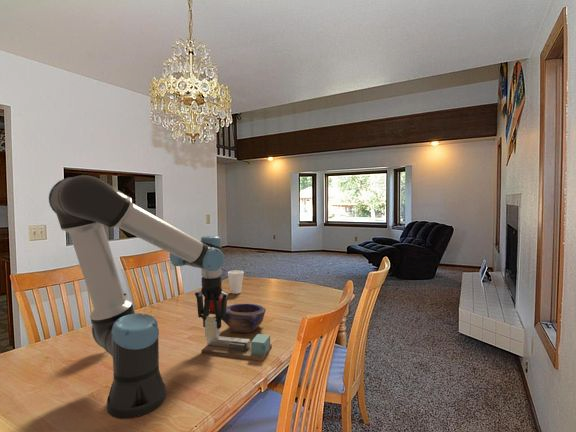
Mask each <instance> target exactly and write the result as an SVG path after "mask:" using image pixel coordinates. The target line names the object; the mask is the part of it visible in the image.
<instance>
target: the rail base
mask: <svg viewBox="0 0 576 432" xmlns="http://www.w3.org/2000/svg"><path fill="white" fill-rule="evenodd" d="M234 338H239V339H248V340H250V347H249V348H248V350H246V349H245V344H241V343H232V342H230V343H229V347H221V346H213V345H207V344H206V346H204V348H202V349H201V354H204V355H211V356H221V357H229V358H237V359H245V360H251V361H252V360H253V361H261V362H263V361H264V360H265V358H266V356H267V355H268V354H269V352H270V351H271V349H272V348H273V347H272V343H270V348H269V349H268V350H267V352H266V353H265V355H260V354H251V338H245V337H237V336H235V337H234Z"/></svg>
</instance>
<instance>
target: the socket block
mask: <svg viewBox="0 0 576 432" xmlns="http://www.w3.org/2000/svg"><path fill="white" fill-rule="evenodd" d="M250 342H251V354H260V355H265V353H266V352H267V350H268V349H269V348H270V344H271V335H270V334H262V333H257V334H256V335H255V336H254V337H253V339H252V340H250Z"/></svg>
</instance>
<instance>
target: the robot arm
mask: <svg viewBox="0 0 576 432" xmlns="http://www.w3.org/2000/svg"><path fill="white" fill-rule="evenodd" d="M48 193H49V194H48V203H49V206H50V208H51V210H52V211H53V212H54V213H55V215H56V216H57V221H58V223H59V226H60V229H61V231H64V232H66V233H68V234H69V235H70V239H71V242H72V245H73V248H74V252H75V255H76V257H77V261H78V264H79V267H80V270H81V274H82V276H83V279H84V283H85V285H86V288H87V292H88V295H89V298H90V301H91V304H92V307H93V310H92V312H91V313H90V315H89V319H90V321H91V335H92V337H93V339H94V341H95V343H96V344H97V345H98V346H100V347H101V348H103V349H104V350H105V351H106V352H107V353H108V354H109V355H110V357H112V365H113V366H112V367H113V368H112V369H113V371H112V374H113V380H112V383H111V387H110V390H109V393H108V396H107V398H106V412H107V414H108V415H109V416H111V417H113V418H117V419H131V418H136V417H140V416H144V415H146V414H148V413H150V412H152V411H154V410H156V409H157V408H158V407H160V406H161V405H162V404H163V403H164V401H165V399H166V398H167V397H166V396H167V388H166V384H165V382H164V380H163V378H162V374H161V372H160V369H159V368H160V363H159V361H160V357H159V355H160V354H159V353H160V351H159V350H160V349H159V347H160V346H159V335H160V329H159V323H158V320H157V319H156V318H155V317H154V316H153V315H150V314H147V313H136V312H135V309H134V305H133V302H132V300H130V299H129V298H128V299H126V298H125V297H124V291H123V290H124V289H123V287H122V283H121V280H120V277H119V274H118V270H117V267H116V263H115V260H114V256H113V253H112V250H111V246H110V243H109V239H108V236H107V233H106V230H105V227H104V226H106V227H107V228H110V229H114V228H118V229H121V230H122V231H125V232H126V233H128V234H131V235H133V236H135V237H137V238H139V239H141V240H142V241H145V242H147V243H149V244H151V245H153V246H155V247H157V248H159V249H161V250H164V251H166V252H168V253H169V260H170V262H171V264H172V265H173V266H174V267H184V266H189V267H193V268H199V269H200V270H201V272H200V273H201V290H198V291H196V292H195V293H194V295H195V298H196V306H197V317H198V318H199V319H200V318H201V319H202V326H203V328H204V337H205V338H207V316H208V315H209V313H210V310H209V308H210V301H211V300H212V301H213V304H214V309H215V313H214V314H215V316H216V320H215V321H214V338H217V337H218V336H220V329H221V328H222V321H223V319H224V318H225V317H226V309H227V307H228V298H229V296H230V294H229V292H225V291H223V289H222V286H223V285H222V284H223V283H222V282H223V281H222V267H223V265H224V263H225V255H224V253H223V251H222V239H221V237H220V236H219V235H204V236H201V237H200V240H199V239H197V238H195V237H193V236H192V235H189V233H188V234H187V233H186V232H184V231H183V230H180V229H179V228H177V227H176V226H174V225H172V224H170V223H168V222H167V221H165V220H163V219H162V218H159V217H158V216H156V215H154V214H153V213H151V212H149V211H148V210H145V209H143V208H142V207H140V206H138V205H136V204H135V203H133V199H132V197H131V196H128V195H127V194H125V193H124V192H122V191H120V190H119V189H117V188H116V187H114V186H112V185H110V183H107V182H105V181H103V180H102V179H100V178H98V177H96V176H93V175H92V176H91V175H77V176H72V177H71V176H69V177H66V178H62V179H61V180H59V181H57V182H56V183H55V184H54V185H53V186H52V187H51V189H50V191H49V192H48ZM220 295H221V298H222V301H221V309H220V303H219V301H220V299H219V297H220Z"/></svg>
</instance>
